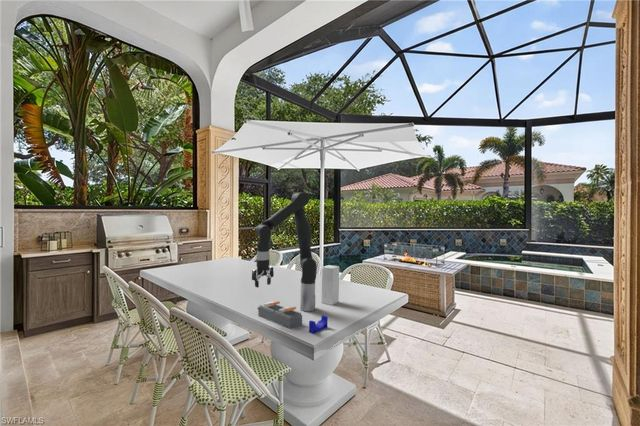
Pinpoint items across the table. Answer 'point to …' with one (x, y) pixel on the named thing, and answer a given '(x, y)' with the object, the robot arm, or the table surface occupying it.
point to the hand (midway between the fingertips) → (262, 285)
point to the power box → (280, 315)
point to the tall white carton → (330, 284)
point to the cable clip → (318, 325)
